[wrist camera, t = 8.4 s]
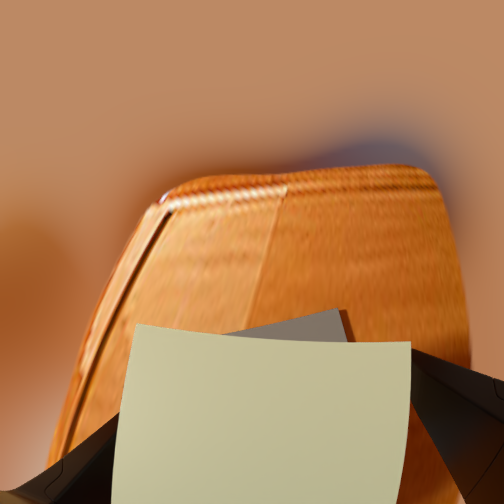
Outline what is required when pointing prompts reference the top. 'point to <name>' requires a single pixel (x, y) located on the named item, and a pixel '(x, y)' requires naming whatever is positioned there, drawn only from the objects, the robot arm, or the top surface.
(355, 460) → the block
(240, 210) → the top surface
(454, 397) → the robot arm
